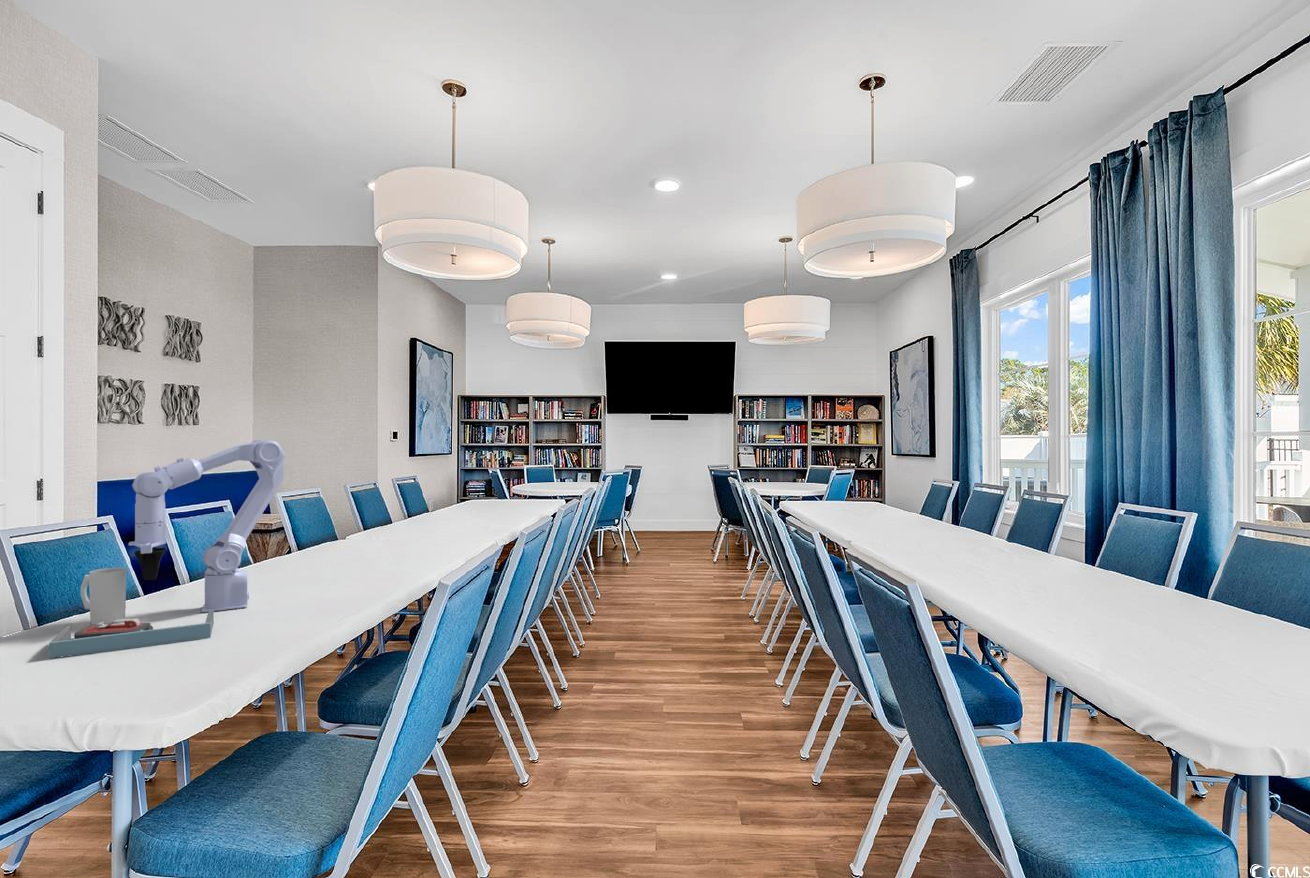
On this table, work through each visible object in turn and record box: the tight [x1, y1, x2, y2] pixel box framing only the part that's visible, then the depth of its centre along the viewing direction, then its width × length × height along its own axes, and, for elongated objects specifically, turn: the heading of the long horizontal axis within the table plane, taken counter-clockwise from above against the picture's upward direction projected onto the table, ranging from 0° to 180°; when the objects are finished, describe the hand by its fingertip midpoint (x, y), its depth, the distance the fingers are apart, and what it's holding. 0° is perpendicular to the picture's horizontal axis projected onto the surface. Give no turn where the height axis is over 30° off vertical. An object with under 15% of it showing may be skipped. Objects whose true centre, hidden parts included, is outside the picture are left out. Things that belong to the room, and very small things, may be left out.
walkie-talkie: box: [68, 617, 154, 640], centre depth 139 cm, size 9×4×20 cm
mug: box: [80, 567, 127, 626], centre depth 153 cm, size 10×7×12 cm, turn 86°
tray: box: [48, 611, 215, 659], centre depth 139 cm, size 26×12×3 cm, turn 122°
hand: (150, 579), depth 155 cm, fingers closed
